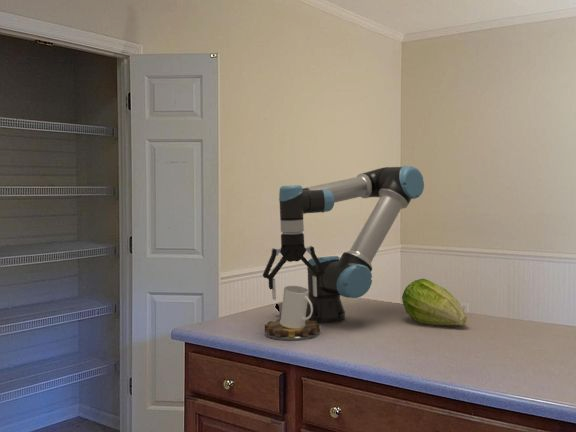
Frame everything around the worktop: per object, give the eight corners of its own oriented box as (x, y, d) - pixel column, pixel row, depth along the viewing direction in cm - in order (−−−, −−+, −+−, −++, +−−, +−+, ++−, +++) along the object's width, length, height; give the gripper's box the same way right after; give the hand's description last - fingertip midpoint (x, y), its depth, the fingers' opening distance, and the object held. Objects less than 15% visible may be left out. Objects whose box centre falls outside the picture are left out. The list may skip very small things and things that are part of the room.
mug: (317, 329, 191) (321, 294, 189) (298, 334, 186) (302, 298, 184) (293, 318, 200) (297, 284, 198) (274, 322, 194) (278, 287, 192)
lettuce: (473, 335, 204) (444, 347, 194) (419, 303, 222) (390, 313, 213) (482, 297, 198) (453, 308, 189) (426, 267, 217) (396, 276, 207)
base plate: (313, 324, 208) (313, 322, 207) (325, 338, 189) (325, 336, 189) (261, 328, 204) (261, 325, 204) (268, 342, 186) (268, 339, 186)
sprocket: (330, 332, 193) (329, 308, 193) (280, 340, 184) (280, 315, 184) (302, 320, 209) (301, 299, 209) (255, 328, 200) (255, 305, 200)
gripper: (327, 229, 197) (329, 292, 198) (252, 233, 193) (255, 297, 194) (332, 231, 189) (334, 296, 191) (255, 236, 185) (258, 302, 187)
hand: (294, 297), depth 192 cm, fingers open, 13 cm apart
